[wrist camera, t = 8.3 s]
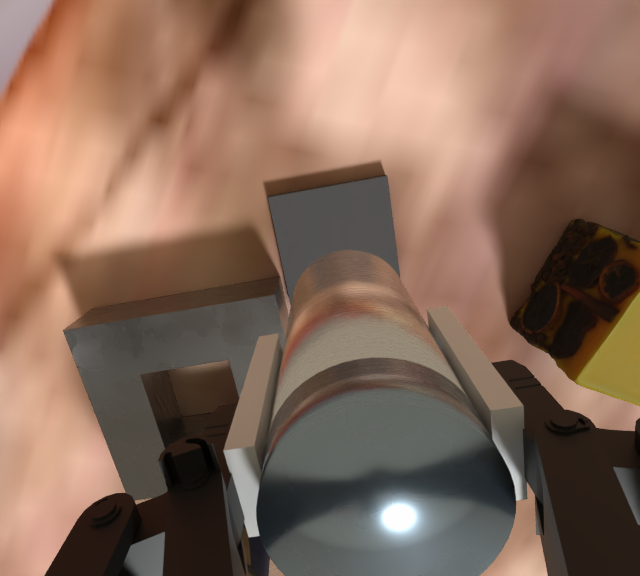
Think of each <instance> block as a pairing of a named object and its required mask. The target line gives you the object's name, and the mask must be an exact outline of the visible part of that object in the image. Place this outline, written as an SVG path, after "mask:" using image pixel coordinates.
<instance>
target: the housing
mask: <svg viewBox="0 0 640 576" xmlns="http://www.w3.org/2000/svg"><path fill="white" fill-rule="evenodd" d="M288 320H289V316H288V311H287V306H286V302H285V297H284V292H283V288H282V283H281V278H280V277H275V278H269V279H264V280H258V281H252V282H246V283H240V284H234V285H228V286H223V287H217V288H211V289H205V290H199V291H193V292H187V293H182V294H176V295H170V296H164V297H158V298H152V299H146V300H141V301H135V302H129V303H123V304H117V305H111V306H106V307H100V308H94V309H91V310H90V311H89V312H87V313H86V314H85V315H83V316H82V317H80V318H79V319H78V320H76V321H75V322H74V323H72V324H71V325H70V326H68V327H67V328H66V329H64V330H63V332H64V335H65V337H66V340H67V342H68V345H69V347H70V350H71V353H72V355H73V358H74V360H75V363H76V365H77V368H78V371H79V373H80V376H81V378H82V381H83V384H84V386H85V389H86V391H87V394H88V396H89V399H90V402H91V404H92V407H93V409H94V412H95V414H96V417H97V420H98V422H99V425H100V427H101V430H102V432H103V435H104V438H105V440H106V443H107V445H108V448H109V451H110V453H111V456H112V458H113V461H114V463H115V466H116V469H117V471H118V474H119V476H120V479H121V481H122V484H123V487H124V489H125V492H126V493H127V494H129V495H131V496H132V497H133V499H134V500H141V499H147V498H154V497H158V496H160V495H162V494H164V493H166V492H167V486H166V483H165V480H164V477H163V475H162V472H161V469H160V466H159V463H158V460H159V457H160V454H161V453H162V452H163V451H164V450H165V449H166V448H167V447H168V446H169V445H171V444H172V443H174V442H175V441H177V440H180V439H182V438H184V437H188V436H193V435H202V433H203V431H204V430H205V426H206V423H207V421H208V418H209V416H210V415H211V414H212V413H213V412H212V413H206V414H199V415H193V416H186V417H181V414H180V411H179V408H178V404H177V401H176V398H175V395H174V392H173V389H172V386H171V382H170V379H169V376H168V373H167V370H170V369H176V368H182V367H188V366H194V365H201V364H207V363H213V362H219V361H225V360H229V362H230V366H231V370H232V373H233V377H234V381H235V385H236V388H237V392H238V396H239V398H240V395H241V392H242V389H243V386H244V382H245V379H246V376H247V373H248V370H249V366H250V363H251V360H252V357H253V354H254V350H255V347H256V344H257V341H258V337H259V336H265V335H271V334H277V333H278V334H279V338H280V343H281V347H282V351H283V348H284V343H285V337H286V331H287V326H288Z"/></svg>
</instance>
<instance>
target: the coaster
mask: <svg viewBox="0 0 640 576" xmlns="http://www.w3.org/2000/svg"><path fill="white" fill-rule="evenodd" d="M268 200H269V205H270V209H271V214H272V219H273V224H274V228H275V233H276V238H277V243H278V247H279V252H280V257H281V262H282V266H283V271H284V276H285V280H286V285H287V290H288V295H289V299H290V304H291V303H292V297H293V292H294V289H295V286H296V284H297V281H298V279H299V278H300V276H301V275H302V273H303V272H304V271H305V270H306V268H307V267H308V266H310V265H311V264H312V263H313V262H314V261H316V260H317V259H319V258H321V257H322V256H324V255H327V254H329V253H332V252H336V251H341V250H359V251H364V252H368V253H371V254H373V255H376V256H378V257H379V258H381V259H383V260H384V261H385V262H387V263H388V264H389V265H390V266H391V267H392V268H393V269H394V270H395V271H396V273H397V274H398V276H399V277H400V272H399V264H398V256H397V249H396V241H395V233H394V225H393V217H392V209H391V201H390V193H389V185H388V177H387V176H386V175H383V176H377V177H372V178H366V179H361V180H355V181H350V182H344V183H339V184H333V185H328V186H322V187H316V188H311V189H305V190H300V191H294V192H289V193H283V194H278V195H272V196H269V197H268Z"/></svg>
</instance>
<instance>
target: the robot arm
mask: <svg viewBox="0 0 640 576" xmlns="http://www.w3.org/2000/svg"><path fill="white" fill-rule="evenodd" d="M427 315H428V324H429V330H430V331H431V333H432V335H433V337H434V338H435V340H436V342H437V344H438V345H439V347H440V349H441V351H442V352H443V354H444V356H445V358H446V359H447V361H448V363H449V365H450V366H451V368H452V370H453V371H454V373H455V375H456V377H457V378H458V380H459V382H460V384H461V385H462V387H463V389H464V391H465V392H466V394H467V396H468V398H469V399H470V401H471V403H472V405H473V406H474V408H475V410H476V412H477V413H478V415H479V417H480V419H481V420H482V422H483V424H484V425H485V427H486V429H487V431H488V432H489V434H490V436H491V438H492V439H493V441H494V443H495V445H496V446H497V448H498V450H499V452H500V453H501V455H502V457H503V459H504V461H505V463H506V464H507V466H508V468H509V470H510V473H511V476H512V479H513V482H514V486H515V494H516V500H524V499H527V482H528V484H529V485H530V487H531V489H532V490H533V492H534V494H535V511H536V535H540V536H541V542H542V547H543V552H544V557H545V562H546V567H547V573H548V576H640V418H639V419H638V420H637V421H636V426H635V431H620V430H607V429H599V428H596V427H595V425H594V424H593V423H592V421H591V420H590V419H588V418H587V417H585V416H584V415H582V414H580V413H577V412H574V411H570V410H564V409H563V408H562V406H561V405H560V404H559V403H558V402H557V401H556V400H555V399H554V398H553V397H552V395H551V394H550V393H549V392H548V391H547V390H546V389H545V388H544V387H543V386H541V383H540V382H539V381H538V380H537V379H536V378H534V375H533V374H532V373H531V372H530V371H529V370H528V369H527V368H526V367H525V366H523V365H521V364H519V363H517V362H515V361H513V360H507V361H501V362H494V363H491V362H490V361H489V360H488V358H487V357H486V356H485V354H484V353H483V352H482V351H481V349H480V348H479V347H478V345H477V344H476V343H475V341H474V340H473V339H472V337H471V336H470V335H469V334H468V332H467V331H466V330H465V328H464V327H463V326H462V324H461V323H460V322H459V320H458V319H457V318H456V316H455V315H454V314H453V313H452V311H451V310H450V309H449V307H448V306H442V307H436V308H430V309H427ZM282 354H283V351H282V347H281V343H280V338H279V334H278V333H277V334H271V335H265V336H259V337H258V341H257V344H256V347H255V350H254V354H253V357H252V360H251V363H250V366H249V370H248V373H247V376H246V379H245V382H244V386H243V389H242V392H241V395H240V398H239V402H238V404H231V405H225V406H219V407H218V408H217V409H216V410H215V411H214V412H213V413H212V414H211V415H210V416H209V418H208V421H207V423H206V426H205V430H204V431H203V433H202V435H193V436H188V437H184V438H182V439H180V440H177V441H175V442H174V443H172V444H171V445H169V446H168V447H167V448H166V449H165V450H164V451H163V452H162V453H161V454H160V457H159V460H158V463H159V466H160V469H161V472H162V475H163V477H164V480H165V483H166V486H167V492H166V493H164V494H162V495H160V496H158V497H155V498H153V499H150V500H148V501H145V502H142V503H140V504H137V505H136V504H135V501H134V499H133V497H132V496H131V495H129V494H127V493H116V494H112V495H109V496H106V497H104V498H102V499H100V500H98V501H96V502H95V503H93V504H92V505H91V506H90V507H88V508H87V509H86V510H85V511H84V512H83V513H82V515H81V516H80V517H79V518H78V520H77V521H76V523H75V525H74V526H73V528H72V530H71V532H70V533H69V535H68V537H67V538H66V540H65V542H64V543H63V545H62V547H61V549H60V550H59V552H58V554H57V555H56V557H55V559H54V560H53V562H52V564H51V566H50V567H49V569H48V571H47V572H46V574H45V576H249V573H248V567H247V560H246V553H245V549H244V545H243V542H242V539H241V535H242V530H243V525H244V523H245V526H246V530H247V533H248V537H256V536H260V535H259V531H258V526H257V520H256V505H257V498H258V491H259V485H260V480H261V474H262V468H263V463H264V457H265V451H266V445H267V440H268V434H269V428H270V423H271V417H272V411H273V406H274V400H275V394H276V388H277V383H278V377H279V371H280V366H281V360H282Z"/></svg>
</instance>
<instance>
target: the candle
mask: <svg viewBox="0 0 640 576" xmlns="http://www.w3.org/2000/svg"><path fill="white" fill-rule="evenodd" d="M531 287H532V294H531V296H530V297H529V299H528V300H527V301H526V302H525V304H524V305H523V306H522V308H521V309H520V310H519V311H518V312H517V313H516V315H515V316H514V317H513V318H512V321H511V323H510V325H511V327H512V328H513V329H514V330H516V331H517V332H518V333H520V335H522V336H523V337H524V338H525V339H526V340H527V342H528V343H530V344H531V345H533V346H535V347H537V348H539V349H541V350H542V351H544V352H546V353H549V355H550V356H551V357H552V358H553V359H554V360H555V361H556V364H557V366H558V367H559V368H560V369H561V370H563V371H564V372H565V374H566V375H567V377H568V378H569V379H571V380H572V381H574V382H575V383H576V384H578V385H580V386H583V387H585V388H588V389H591V390H594V391H597V392H600V393H603V394H606V395H609V396H611V397H614V398H617V399H621V400H624V401H627V402H630V403H632V404H635V405H638V406H640V242H639V241H637V240H635V239H633V238H630V237H628V235H623V234H621V233H619V232H616V231H614V230H611V229H608V228H605V227H603V226H601V225H599V224H596V223H593V222H585V221H584V220H582V219H577V220H575V221H571V223H570V224H569V226H568V228H567V229H566V231H565V232H564V234H563V236H562V238H561V239H560V241H559V243H558V245H557V247H556V248H555V249H554V250H552V253H551V254H550V256H549V258H548V259H547V261H546V263H545V265H544V267H543V268H542V270H541V271H540V272H539V274H538V275H537V277H536V281H535V283H534V284H533V285H531Z"/></svg>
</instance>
